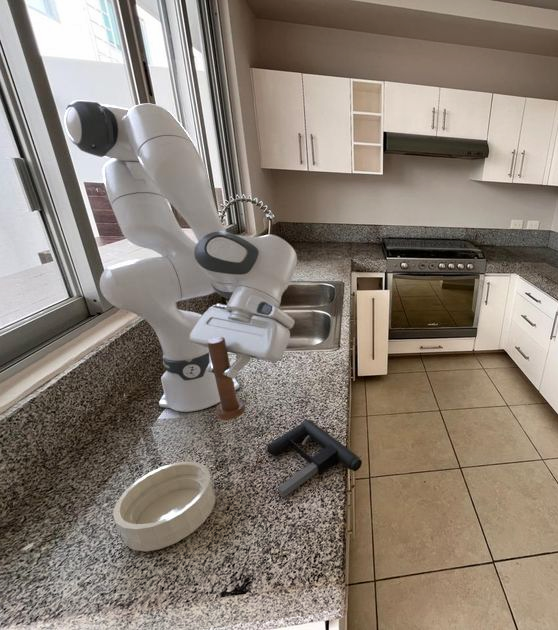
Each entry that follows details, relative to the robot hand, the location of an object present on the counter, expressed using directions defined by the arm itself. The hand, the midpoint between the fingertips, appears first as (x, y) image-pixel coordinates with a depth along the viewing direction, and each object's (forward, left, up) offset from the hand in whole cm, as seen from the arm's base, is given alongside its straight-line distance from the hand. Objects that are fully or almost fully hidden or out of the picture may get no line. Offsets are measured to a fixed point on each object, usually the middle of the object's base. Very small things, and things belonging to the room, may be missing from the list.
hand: (220, 375), depth 64 cm
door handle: (+6, +13, -23) cm, 27 cm away
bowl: (+7, -11, -22) cm, 26 cm away
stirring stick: (0, 0, -9) cm, 9 cm away
